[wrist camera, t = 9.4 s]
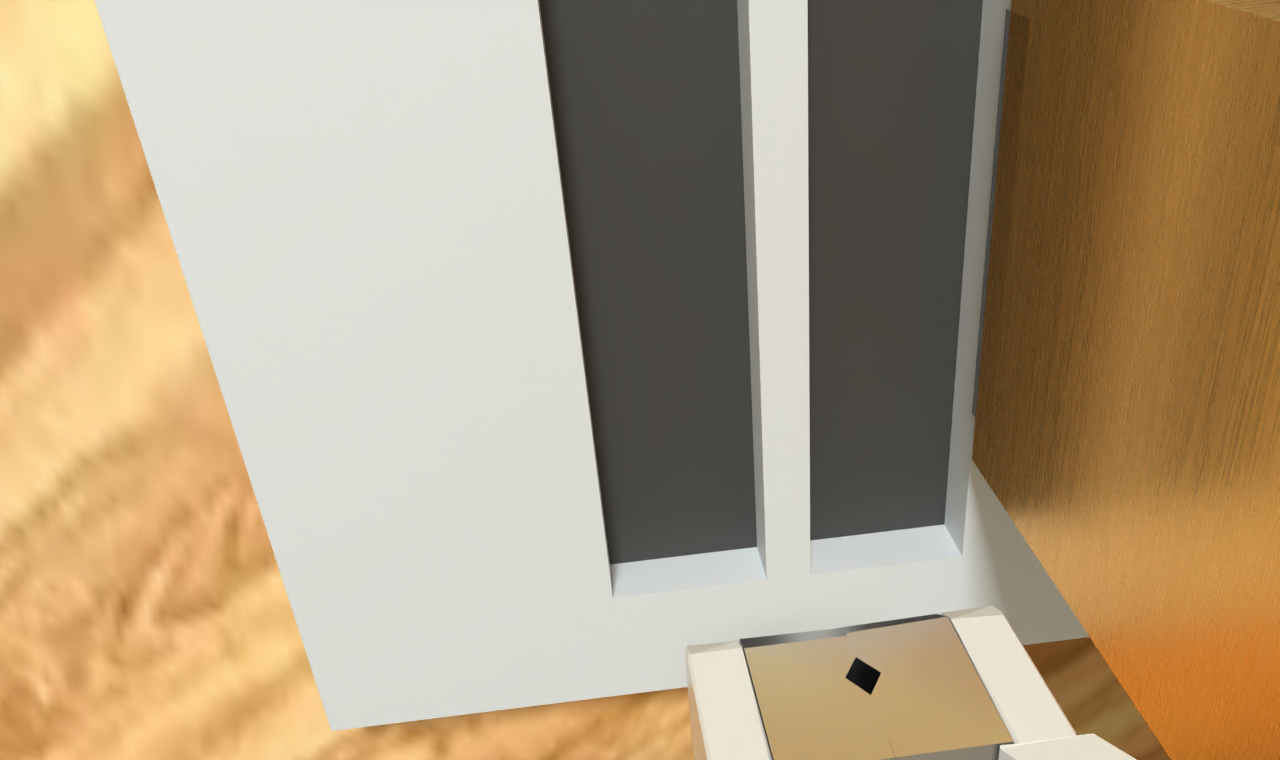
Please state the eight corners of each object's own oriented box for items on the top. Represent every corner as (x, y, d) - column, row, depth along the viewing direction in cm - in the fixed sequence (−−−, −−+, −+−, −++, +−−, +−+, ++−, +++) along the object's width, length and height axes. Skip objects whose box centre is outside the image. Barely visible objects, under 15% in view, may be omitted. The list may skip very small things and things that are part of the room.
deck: (2439, -622, 16) (2604, -660, 15) (1799, 506, 27) (1863, 541, 26) (6, -409, 15) (-45, -429, 14) (342, 684, 26) (331, 731, 25)
